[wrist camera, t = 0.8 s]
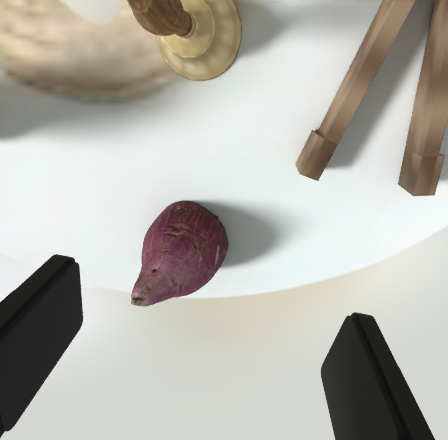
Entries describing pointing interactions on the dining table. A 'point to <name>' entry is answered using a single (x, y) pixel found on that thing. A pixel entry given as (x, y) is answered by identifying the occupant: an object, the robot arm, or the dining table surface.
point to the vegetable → (179, 253)
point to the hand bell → (192, 34)
